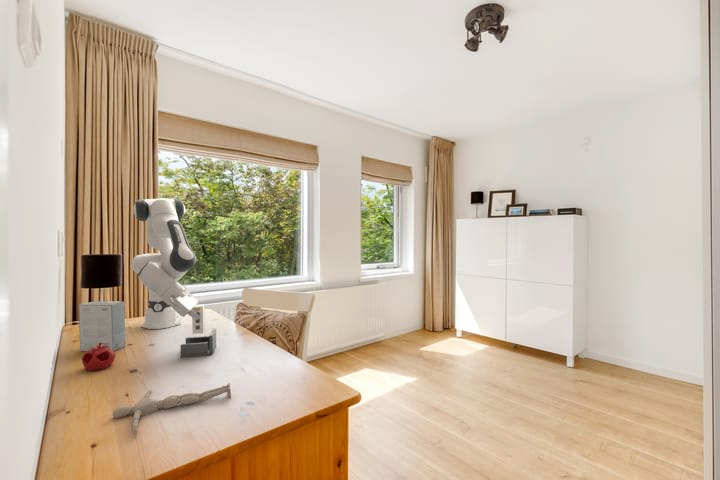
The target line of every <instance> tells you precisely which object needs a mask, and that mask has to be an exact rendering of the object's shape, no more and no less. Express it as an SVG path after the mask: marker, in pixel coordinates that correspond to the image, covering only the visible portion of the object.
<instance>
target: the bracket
mask: <svg viewBox="0 0 720 480" xmlns="http://www.w3.org/2000/svg"><path fill="white" fill-rule="evenodd" d="M211 330H212V331H211V332H210V334H209V335H203V336H201V335H200V336H191V337H190V336H189V337H185V343H181V344H180V345H179V347H180V358H192V357H193V358H194V357H203V356H205V357H206V356H213V355H214V353H215V351H216V349H217V328H212V329H211Z"/></svg>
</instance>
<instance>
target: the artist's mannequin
mask: <svg viewBox="0 0 720 480" xmlns="http://www.w3.org/2000/svg"><path fill="white" fill-rule="evenodd" d="M152 392H153V390H151V389H150V390H148V391H147V392H146V393H145V395H144V397H142V399H141V400H140V401H139V402H137V403H135V404H134V406H118V407H116V408H115V409H114V410H113V412H112V417H113V418H115V419H121V418H124V417H126V416H128V415H131V414H134V415H133V416H132V427H131V428H132V429H131V430H132V432H133V434H134V435H138V425H139V419H140V417H142V415H143V416H146V414H147V415H149V413H150V414H152V413H154V412H156V411H159V410H161V409H164V410H167V409H168V410H169V409H171V408H174V407H176V406H178V405H184V406H185V405H189V404H196V403H200V402H202V401H208V400H211V399H213V398H215V397H217V396H220V395H223V394H225V393H227V395H226V396H227V398H228V399H229V398H230V399H232V393H231V383H229V382H228V383H227V384H226V385H223V386H220V387H216V388H211V389H208V390H205V391H203V392H200V393H197V392H189V393H183V394H181V395H178V394H172V395H170V396H167V397H164V398H163V399H160V400H158V399H154V398H152V399H151V398H150V395H151V393H152ZM158 409H159V410H158Z"/></svg>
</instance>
